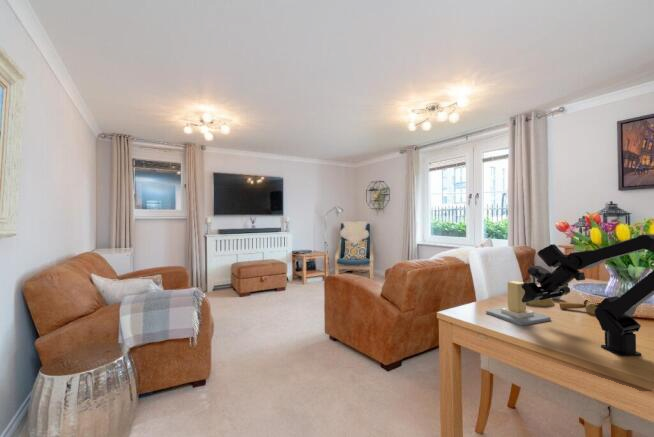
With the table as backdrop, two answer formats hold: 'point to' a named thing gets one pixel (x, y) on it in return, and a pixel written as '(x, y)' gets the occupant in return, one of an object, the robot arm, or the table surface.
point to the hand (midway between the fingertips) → (531, 300)
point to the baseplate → (518, 316)
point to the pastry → (542, 302)
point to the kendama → (580, 306)
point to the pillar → (516, 297)
